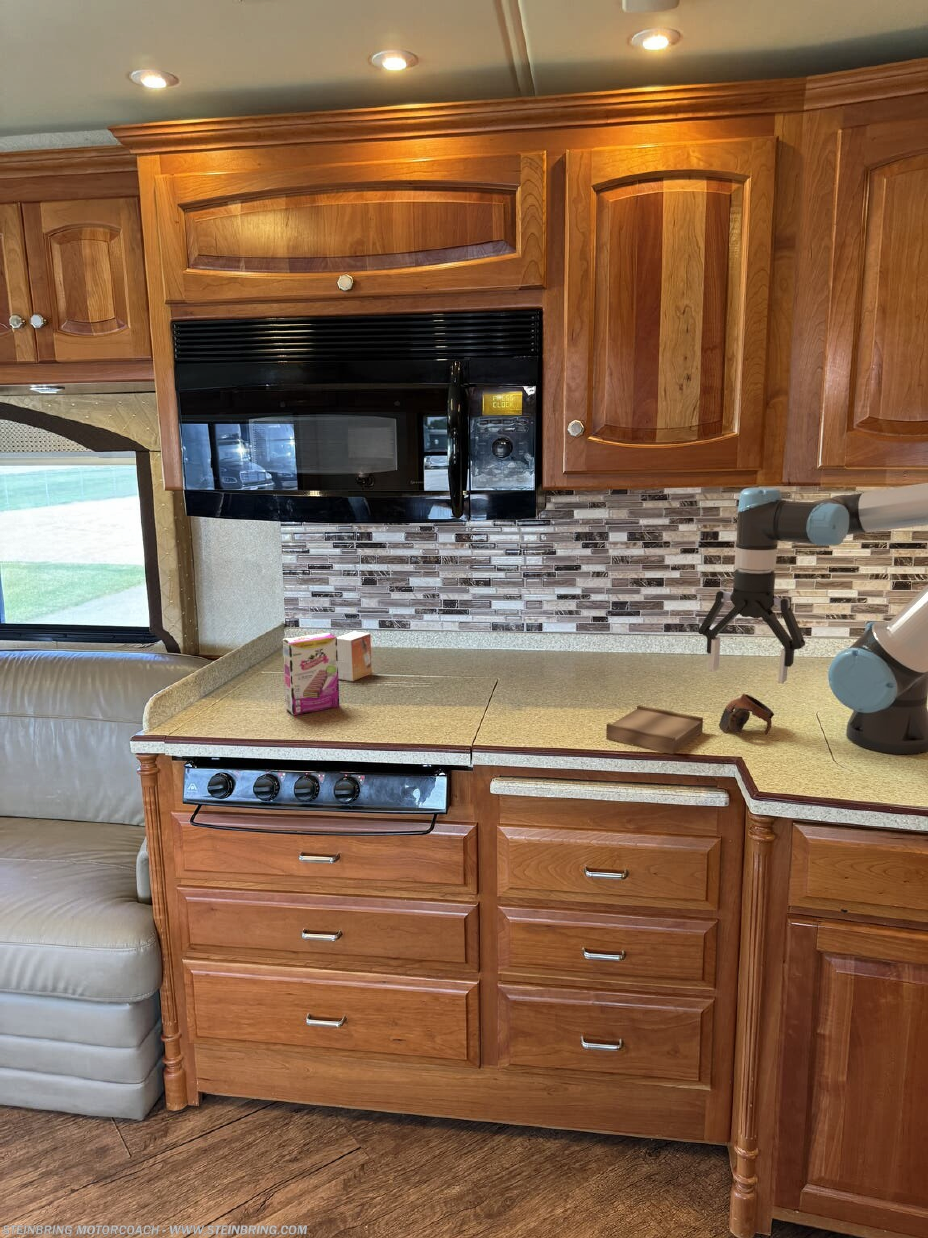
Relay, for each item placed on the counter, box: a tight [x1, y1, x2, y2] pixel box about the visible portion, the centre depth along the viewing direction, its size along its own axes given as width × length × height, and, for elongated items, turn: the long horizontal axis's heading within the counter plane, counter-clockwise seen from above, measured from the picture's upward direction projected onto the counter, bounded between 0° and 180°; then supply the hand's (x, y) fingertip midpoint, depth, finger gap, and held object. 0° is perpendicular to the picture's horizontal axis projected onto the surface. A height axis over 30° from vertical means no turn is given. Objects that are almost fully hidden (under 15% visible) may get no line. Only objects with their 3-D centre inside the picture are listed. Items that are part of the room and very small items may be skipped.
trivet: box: [605, 704, 704, 755], centre depth 173 cm, size 14×14×3 cm
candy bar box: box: [281, 632, 340, 716], centre depth 192 cm, size 11×5×16 cm, turn 121°
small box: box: [336, 630, 373, 682], centre depth 216 cm, size 8×6×10 cm
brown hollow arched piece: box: [718, 693, 775, 735], centre depth 174 cm, size 12×10×8 cm
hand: (747, 675), depth 172 cm, fingers open, 13 cm apart
